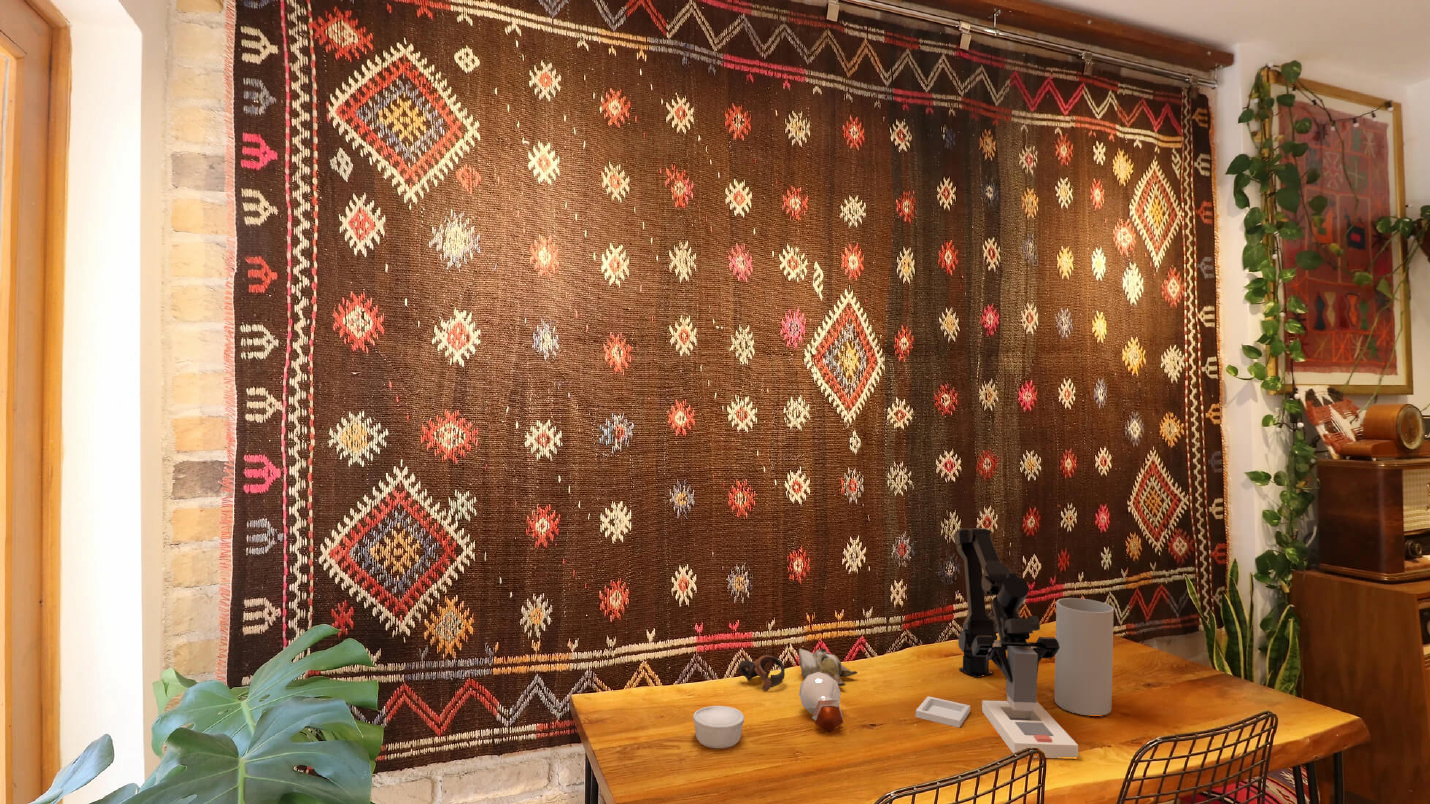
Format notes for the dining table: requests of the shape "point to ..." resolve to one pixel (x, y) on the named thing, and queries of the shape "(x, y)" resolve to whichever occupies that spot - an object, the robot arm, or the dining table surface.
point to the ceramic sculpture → (823, 665)
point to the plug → (1022, 678)
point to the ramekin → (718, 726)
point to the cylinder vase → (1084, 656)
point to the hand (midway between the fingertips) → (1023, 682)
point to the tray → (943, 711)
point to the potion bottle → (822, 700)
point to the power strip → (1029, 729)
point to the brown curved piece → (762, 671)
